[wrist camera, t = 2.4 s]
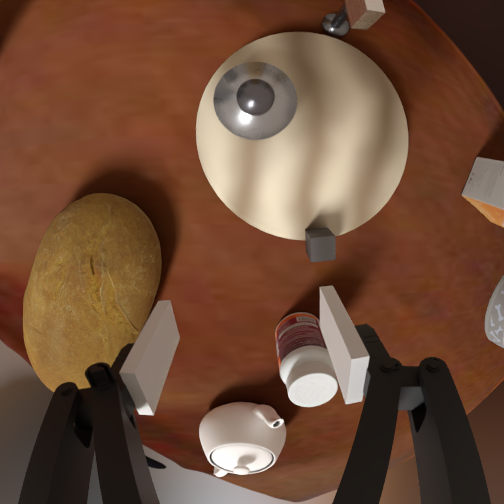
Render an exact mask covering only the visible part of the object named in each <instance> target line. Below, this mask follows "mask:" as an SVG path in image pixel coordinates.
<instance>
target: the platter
mask: <svg viewBox="0 0 504 504" xmlns="http://www.w3.org/2000/svg"><path fill="white" fill-rule="evenodd" d="M247 62H264V63H268V64H271V65H273V66H275V67H277V68H279V69H280V70H282V71H283V72H284V73H285V74H286V75H287V76H288V77H289V78H290V79H291V81H292V82H293V84H294V86H295V89H296V93H297V109H296V112H295V115H294V117H293V119H292V121H291V122H290V123H289V125H288V126H287V127H286V128H285V129H283V130H282V131H281V132H279V133H278V134H276V135H275V136H273V137H271V138H269V139H265V140H260V141H250V140H245V139H242V138H239V137H237V136H235V135H234V134H232V133H231V132H230V131H229V130H228V129H226V128H225V127H224V126H223V124H222V123H221V122H220V120H219V119H218V117H217V115H216V112H215V109H214V103H213V98H214V92H215V88H216V86H217V84H218V82H219V80H220V79H221V78H222V76H223V75H224V74H225V73H226V72H227V71H229V70H230V69H232V68H233V67H235V66H237V65H240V64H243V63H247ZM196 142H197V148H198V154H199V158H200V161H201V164H202V167H203V170H204V173H205V175H206V177H207V179H208V181H209V183H210V185H211V186H212V188H213V189H214V191H215V192H216V194H217V195H218V197H219V198H220V199H221V200H222V201H223V202H224V203H225V205H226V206H227V207H228V208H229V209H230V210H232V211H233V212H234V213H235V214H236V215H237V216H238V217H240V218H241V219H243V220H244V221H246V222H247V223H249V224H250V225H252V226H254V227H256V228H258V229H260V230H262V231H264V232H267V233H269V234H272V235H275V236H279V237H283V238H288V239H295V240H306V253H307V255H308V257H309V259H310V261H311V262H319V261H328V260H335V236H338V235H341V234H344V233H346V232H349V231H351V230H353V229H355V228H357V227H359V226H360V225H362V224H364V223H365V222H367V221H368V220H369V219H370V218H372V217H373V216H374V215H375V214H377V213H378V212H379V210H380V209H381V208H382V207H383V206H384V205H385V204H386V203H387V201H388V200H389V199H390V197H391V196H392V195H393V193H394V191H395V189H396V188H397V186H398V184H399V182H400V179H401V177H402V174H403V172H404V168H405V164H406V160H407V153H408V127H407V121H406V116H405V113H404V109H403V106H402V103H401V101H400V98H399V96H398V94H397V92H396V90H395V88H394V87H393V85H392V83H391V82H390V80H389V79H388V78H387V76H386V75H385V74H384V72H383V71H382V70H381V69H380V68H379V67H378V66H377V65H376V64H375V63H374V62H373V61H372V60H371V59H370V58H369V57H367V56H366V55H365V54H364V53H362V52H361V51H359V50H358V49H356V48H354V47H353V46H351V45H349V44H347V43H345V42H343V41H341V40H338V39H336V38H332V37H329V36H326V35H322V34H317V33H311V32H286V33H279V34H274V35H270V36H266V37H264V38H261V39H258V40H255V41H253V42H251V43H250V44H248V45H246V46H244V47H242V48H241V49H239V50H238V51H237V52H235V53H234V54H232V55H231V56H230V57H229V58H228V59H227V60H226V61H225V62H224V63H223V64H222V65H221V66H220V67H219V69H218V70H217V71H216V72H215V74H214V75H213V76H212V78H211V80H210V81H209V83H208V85H207V87H206V89H205V91H204V94H203V96H202V99H201V101H200V105H199V110H198V114H197V123H196Z"/></svg>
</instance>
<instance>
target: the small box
mask: <svg viewBox="0 0 504 504" xmlns="http://www.w3.org/2000/svg"><path fill="white" fill-rule="evenodd" d="M462 196H463V197H464V198H465V199H467V200H468V201H469V202H470V203H471V204H472V205H474V206H475V207H476V208H477V209H478V210H479V211H480V212H481V213H482V214H483V215H484V216H485V217H486V218H487V219H488V220H489V221H490V222H493V223H495V224H497V225H499V226H502V227H504V161H499V160H493V159H488V158H481V157H476V160H475V162H474V165H473V167H472V170H471V172H470V175H469V177H468V180H467V182H466V185H465V187H464V190H463V192H462Z"/></svg>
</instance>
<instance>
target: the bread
mask: <svg viewBox="0 0 504 504" xmlns="http://www.w3.org/2000/svg"><path fill="white" fill-rule="evenodd" d="M161 266H162V260H161V248H160V243H159V239H158V236H157V234H156V231H155V229H154V227H153V225H152V223H151V221H150V219H149V218H148V217H147V216H146V214H145V213H144V212H143V211H142V210H141V209H140V208H139V207H138V206H137V205H135V204H134V203H132V202H130V201H129V200H127V199H125V198H122V197H120V196H117V195H114V194H107V193H94V194H90V195H87V196H85V197H83V198H81V199H80V200H76V201H74V202H72V203H71V204H70V205H69V206H67V207H66V208H65V209H63V210H62V211H61V212H60V213H59V214H57V215H56V217H55V218H54V220H53V221H52V223H51V224H50V226H49V227H48V229H47V231H46V233H45V235H44V237H43V239H42V241H41V243H40V246H39V248H38V251H37V254H36V257H35V261H34V264H33V267H32V271H31V274H30V278H29V282H28V285H27V288H26V290H25V295H24V303H23V331H24V341H25V346H26V350H27V353H28V356H29V359H30V362H31V364H32V366H33V368H34V370H35V372H36V374H37V375H38V377H39V378H40V379H41V381H42V382H43V383H44V384H45V385H46V386H47V387H48V388H49V389H50V390H51V391H53V392H55V390H56V388H57V387H58V386H59V385H61V384H62V383H65V382H73V383H75V384H76V385H77V387H78V389H83V388H90V387H91V386H90V384H89V382H88V380H87V378H86V376H85V371H86V369H87V368H88V367H89V366H91V365H92V364H95V363H99V362H104V363H107V364H109V365H110V368H111V366H112V364H113V363H114V361H115V359H116V357H117V356H118V354H119V352H120V350H121V349H122V348H123V347H124V346H125V345H126V344H128V343H135V342H136V340H137V338H138V336H139V335H140V332H141V330H142V328H143V326H144V324H145V322H146V320H147V318H148V316H149V313H150V310H151V308H152V305H153V302H154V299H155V295H156V292H157V289H158V286H159V282H160V276H161Z"/></svg>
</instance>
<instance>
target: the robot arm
mask: <svg viewBox="0 0 504 504" xmlns="http://www.w3.org/2000/svg"><path fill="white" fill-rule="evenodd" d="M320 329H321V332H322V334H323V337H324V340H325V343H326V346H327V349H328V352H329V355H330V358H331V361H332V364H333V367H334V370H335V373H336V376H337V379H338V382H339V385H340V388H341V391H342V394H343V397H344V401H345V404H350V403H355V402H361V401H362V398H363V393H364V396H365V402H364V407H363V410H362V414H361V418H360V422H359V425H358V429H357V433H356V436H355V439H354V443H353V446H352V449H351V453H350V456H349V459H348V462H347V465H346V468H345V471H344V474H343V477H342V479H341V482H340V485H339V488H338V490H337V493H336V496H335V498H334V501H333V503H332V504H379V501H380V497H381V494H382V490H383V486H384V482H385V478H386V474H387V469H388V465H389V460H390V455H391V450H392V445H393V439H394V433H395V427H396V421H397V414H398V410H407V411H408V416H409V421H410V426H411V432H412V438H413V443H414V450H415V456H416V463H417V469H418V478H419V486H420V496H421V504H491V503H490V498H489V493H488V488H487V484H486V480H485V475H484V471H483V468H482V464H481V460H480V457H479V453H478V450H477V446H476V443H475V440H474V437H473V433H472V430H471V427H470V424H469V421H468V418H467V416H466V413H465V410H464V407H463V404H462V402H461V399H460V396H459V394H458V391H457V389H456V386H455V384H454V381H453V379H452V376H451V374H450V371H449V369H448V367H447V365H446V363H445V362H444V361H443V360H441V359H439V358H436V357H429V358H425V359H424V360H422V361H421V363H420V365H419V366H417V367H415V366H402V364H401V363H400V362H399V361H398V360H396V359H395V358H391V357H390V356H389V354H388V352H387V351H386V349H385V347H384V346H383V344H382V342H381V341H380V339H379V337H378V336H377V334H376V332H375V330H374V329H373V328H372V327H370V326H369V325H367V324H363V325H357V326H354V325H353V323H352V321H351V319H350V317H349V315H348V313H347V311H346V309H345V308H344V306H343V304H342V302H341V300H340V298H339V296H338V295H337V293H336V291H335V289H334V287H333V285H332V286H323V287H320ZM179 339H180V336H179V333H178V329H177V325H176V321H175V317H174V313H173V309H172V305H171V301H170V300H164V301H158V302H157V304H156V306H155V308H154V309H153V311H152V313H151V315H150V317H149V318H148V320H147V322H146V324H145V326H144V327H143V329H142V331H141V333H140V335H139V336H138V338H137V340H136V342H135V343H128V344H126V345H125V346H124V347H123V348H122V349H121V350H120V352H119V354H118V356H117V357H116V359H115V361H114V363H113V364H112V366H111V368H110V365H109V364H107V363H104V362H99V363H95V364H92V365H91V366H89V367H88V368H87V369H86V371H85V376H86V378H87V380H88V382H89V384H90V386H91V387H90V388H83V389H78V387H77V385H76V384H75V383H73V382H65V383H62V384H61V385H59V386H58V387H57V388H56V390H55V392H54V394H53V397H52V399H51V402H50V404H49V407H48V409H47V412H46V415H45V417H44V420H43V423H42V425H41V428H40V431H39V434H38V437H37V440H36V443H35V446H34V449H33V452H32V455H31V458H30V461H29V465H28V468H27V472H26V475H25V479H24V483H23V486H22V491H21V494H20V498H19V503H18V504H87V498H88V489H89V482H90V475H91V469H92V462H93V456H94V451H95V453H96V462H97V469H98V476H99V483H100V489H101V495H102V500H103V504H160V503H159V500H158V497H157V494H156V491H155V488H154V485H153V482H152V478H151V475H150V472H149V468H148V465H147V461H146V458H145V454H144V451H143V447H142V443H141V439H140V435H139V431H138V426H137V422H136V418H135V416H134V414H133V411H134V409H135V407H136V409H137V411H138V413H139V414H143V415H154V413H155V410H156V407H157V404H158V401H159V398H160V395H161V392H162V389H163V386H164V383H165V380H166V377H167V374H168V371H169V368H170V365H171V362H172V359H173V356H174V353H175V351H176V348H177V345H178V342H179Z"/></svg>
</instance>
